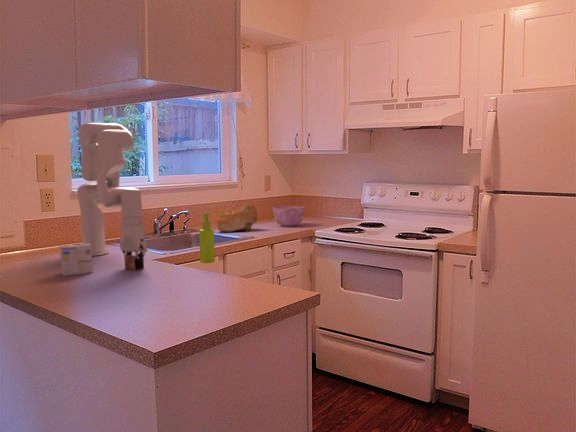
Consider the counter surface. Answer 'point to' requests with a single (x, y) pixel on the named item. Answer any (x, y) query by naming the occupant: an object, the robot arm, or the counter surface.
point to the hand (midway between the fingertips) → (134, 267)
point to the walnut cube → (131, 262)
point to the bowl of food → (288, 215)
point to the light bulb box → (76, 259)
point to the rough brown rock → (236, 219)
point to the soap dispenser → (206, 241)
